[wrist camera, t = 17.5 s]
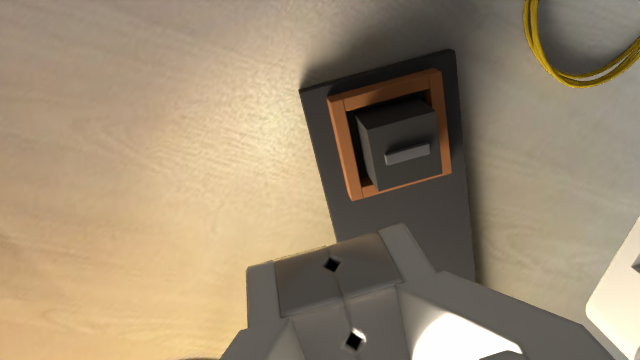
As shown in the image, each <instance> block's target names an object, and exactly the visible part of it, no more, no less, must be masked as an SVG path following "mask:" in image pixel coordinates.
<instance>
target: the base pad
mask: <svg viewBox="0 0 640 360" xmlns="http://www.w3.org/2000/svg"><path fill="white" fill-rule="evenodd" d="M299 94H300V98H301V102H302V106H303V110H304V114H305V118H306V122H307V126H308V130H309V134H310V138H311V142H312V145H313V149H314V153H315V157H316V161H317V165H318V169H319V173H320V177H321V181H322V185H323V189H324V193H325V197H326V201H327V205H328V209H329V213H330V217H331V220H332V224H333V228H334V232H335V236H336V240H337V243H339V242H342V241H345V240H349V239H352V238H355V237H359V236H362V235H365V234H368V233H372V232H375V231H377V230H380V229H383V228H386V227H389V226H392V225H395V224H398V223H403V224H405V225H406V227H407V228H408V230H409V231H410V233H411V234H412V236H413V237H414V239H415V240H416V242H417V243H418V245H419V246H420V248H421V250H422V251H423V253H424V254H425V256H426V257H427V259H428V260H429V262H430V263H431V265H432V266H433V268H434V270H435V271H436V273H438V272H442V271H447V272H449V273H452V274H454V275H457V276H459V277H462V278H464V279H467V280H469V281H472V282H475V283H476V279H475V267H474V256H473V245H472V234H471V222H470V211H469V200H468V189H467V177H466V166H465V155H464V144H463V132H462V121H461V110H460V99H459V87H458V76H457V65H456V54H455V51H454V50H452V49H446V50H443V51H439V52H435V53H432V54H428V55H424V56H421V57H417V58H413V59H409V60H406V61H402V62H398V63H395V64H391V65H387V66H384V67H380V68H376V69H373V70H369V71H365V72H361V73H358V74H354V75H350V76H347V77H343V78H339V79H336V80H332V81H328V82H325V83H321V84H317V85H313V86H310V87H306V88H302V89H299ZM412 96H417V97H418V98H420V99H421V100H422V101H423V102H425V103H426V104H427V105H429V106H430V107H431V108H433V109H434V110H435V111H436V117H437V126H438V135H439V143H440V152H441V161H442V170H443V174H440V175H436V176H433V177H429V178H426V179H422V180H418V181H415V182H411V183H408V184H404V185H401V186H397V187H394V188H390V189H387V190H383V191H380V192H378V190H377V189H376V187H375V185H374V184H373V182H372V181H371V179H370V177H369V176H368V174H367V172H366V171H365V168H364V163H363V158H362V153H361V148H360V143H359V138H358V133H357V128H356V123H355V118H354V112H358V111H361V110H365V109H369V108H372V107H376V106H380V105H383V104H387V103H390V102H394V101H398V100H401V99H405V98H409V97H412Z"/></svg>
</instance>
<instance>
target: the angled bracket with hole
mask: <svg viewBox="0 0 640 360" xmlns="http://www.w3.org/2000/svg"><path fill="white" fill-rule="evenodd" d="M586 314H587V316H588V318H589V319H590V320H591V321H592V322H593V323H594V324H595V325H596V326H597V327H598V328H599V329H600V330H601V331H602V332H603V333H604V334H605V335H606V336H607V337H608V338H609V339H610V340H611V341H612V342H613V343H614V344H615V345H616V346H617V347H618V348H619V349H620V350H621V351H622V352H623V353H624V354H625V355H626V356H627V357H628V359H629V360H640V216H639V217H638V219H637V221H636V222H635V224H634V226H633V227H632V229H631V231H630V232H629V234H628V236H627V237H626V239H625V241H624V242H623V244H622V246H621V247H620V249H619V251H618V252H617V254H616V256H615V257H614V259H613V261H612V262H611V264H610V266H609V267H608V269H607V271H606V272H605V274H604V275H603V277H602V279H601V280H600V282H599V284H598V285H597V287H596V289H595V290H594V292H593V294H592V295H591V297H590V299H589V301H588V303H587V305H586Z"/></svg>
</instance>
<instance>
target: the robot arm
mask: <svg viewBox="0 0 640 360" xmlns="http://www.w3.org/2000/svg"><path fill="white" fill-rule="evenodd" d="M246 291H247V321H248V328H247V329H244V330H241V331H239V332H238V334H237V335H236V337H235V338H234V339H233V341H232V342H231V344H230V345H229V347H228V348H227V349H226V351H225V352H224V354H223V355H222V356H221V358H220V359H219V360H615V359H614V358H613V357H612V356H611V355H610V354H609V352H608V351H607V350H606V349H605V348H604V347H603V346H602V345H601V344H600V343H599V342H598V341H597V340H596V339H595V338H594V337H593V336H592V335H591V333H590V332H589V331H588V330H587V329H586V328H585V327H584V326H583V325H581V324H579V323H576V322H574V321H571V320H568V319H566V318H563V317H561V316H558V315H556V314H553V313H551V312H548V311H546V310H543V309H541V308H538V307H535V306H533V305H530V304H528V303H525V302H523V301H520V300H518V299H515V298H513V297H510V296H508V295H505V294H502V293H500V292H497V291H495V290H492V289H490V288H487V287H485V286H482V285H480V284H477V283H475V282H472V281H469V280H467V279H464V278H462V277H459V276H457V275H454V274H452V273H449V272H447V271H442V272H438V273H436V271H435V270H434V268H433V266H432V265H431V263H430V262H429V260H428V259H427V257H426V256H425V254H424V253H423V251H422V250H421V248H420V246H419V245H418V243H417V242H416V240H415V239H414V237H413V236H412V234H411V233H410V231H409V230H408V228H407V227H406V225H405V224H403V223H398V224H395V225H392V226H389V227H386V228H383V229H380V230H377V231H375V232H372V233H368V234H365V235H362V236H359V237H355V238H352V239H349V240H345V241H342V242H339V243H336V244H332V245H329V246H323V247H319V248H315V249H312V250H308V251H304V252H300V253H296V254H293V255H289V256H285V257H281V258H278V259H275V260H270V261H267V262H263V263H260V264H256V265H253V266H249V267H248V268H247V270H246Z"/></svg>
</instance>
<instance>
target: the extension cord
mask: <svg viewBox="0 0 640 360" xmlns="http://www.w3.org/2000/svg"><path fill="white" fill-rule="evenodd" d="M538 2H539V0H531V5H530V12H531V30H532V37H531V33H530V29H529V21H528V11H529V3H530V0H525V4H524V12H523V19H524V29H525V34H526V38H527V41H528V43H529V46H530V48H531V50H532V52H533V53H534V55H535V56H536V58H537V59H538V60H539V62H540V63H541V64H542V66H543V67H544V68H545V69H546V70H547V71H548V72H549V73H550V74H551V75H553V76H554V77H555V78H556V79H557V80H558V81H560V82H561V83H563V84H564V85H567V86H569V87H575V88H587V87H592V86H596V85H599V84H603V83H605V82H607V81H609V80H611V79H613V78H615V77H616V76H618V75H620V74H621V73H622V72H624V71H625V70H626V69H628V68H629V67H630V66H631V65H632V64H633V63H634V62H636V61H637V60H638V59H639V57H640V51H639V49H640V36H639V38H638V39H637V40H636V41H635V42H634V43H633V44H632V45H631V46H630V47H629V48H628V49H627V50H626V51H625V52H624V53H622V54H621V55H620V56H619V57H617V58H616V59H615V60H613V61H612V62H610V63H609V64H607V65H605V66H604V67H602V68H600V69H598V70H595V71H593V72H590V73H585V74H578V75H572V74H567V73H564V72H562V71H559V70H557V69H555V68H554V67H552V66H551V65H550V64H549V62H548V60H547V58H546V56H545V54H544V51H543V48H542V46H541V42H540V38H539V33H538V24H537V10H538ZM532 38H533V40H532ZM634 48H635V49H634ZM633 49H634V50H633ZM632 50H633V51H632ZM631 51H632V52H631ZM638 51H639V52H638ZM630 52H631V54H630V55H629V56H628V57H627V58H626V59H625V60H624V61H623V62H622V63H620V64H619V65H618V66H617V67H616V68H615V69H614V70H612V71H611V72H609V73H608V74H606V75H604V76H602V77H600V78H598V79H595V80H591V81H577V80H573V79H576V78H586V77H590V76H594V75H596V74H599V73H601V72H603V71H605V70H607V69H609V68H610V67H612V66H613V65H615V64H616V63H618V62H619V61H621V60H622V59H623V58H624V57H626V56H627V55H628V54H629V53H630ZM637 52H638V53H637ZM636 53H637V54H636ZM635 54H636V55H635ZM634 55H635V56H634ZM570 78H572V79H570Z"/></svg>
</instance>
